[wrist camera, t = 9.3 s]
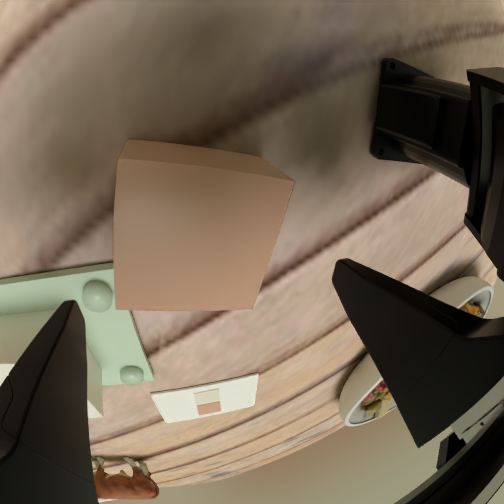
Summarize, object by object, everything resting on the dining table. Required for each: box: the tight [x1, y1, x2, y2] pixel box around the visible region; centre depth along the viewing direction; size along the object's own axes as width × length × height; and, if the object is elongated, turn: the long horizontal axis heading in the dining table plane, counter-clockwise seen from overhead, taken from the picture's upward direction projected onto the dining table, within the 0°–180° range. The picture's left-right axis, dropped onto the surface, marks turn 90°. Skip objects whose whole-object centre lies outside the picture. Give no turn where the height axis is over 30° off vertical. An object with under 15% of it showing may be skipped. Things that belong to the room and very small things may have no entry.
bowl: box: [339, 276, 494, 426], centre depth 34 cm, size 30×30×8 cm
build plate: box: [0, 263, 155, 386], centre depth 14 cm, size 14×11×1 cm
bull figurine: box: [92, 456, 159, 502], centre depth 26 cm, size 4×14×8 cm, turn 73°
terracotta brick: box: [113, 139, 295, 311], centre depth 12 cm, size 6×6×4 cm
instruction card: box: [150, 373, 259, 423], centre depth 25 cm, size 10×7×1 cm
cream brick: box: [0, 309, 103, 418], centre depth 13 cm, size 6×6×4 cm
